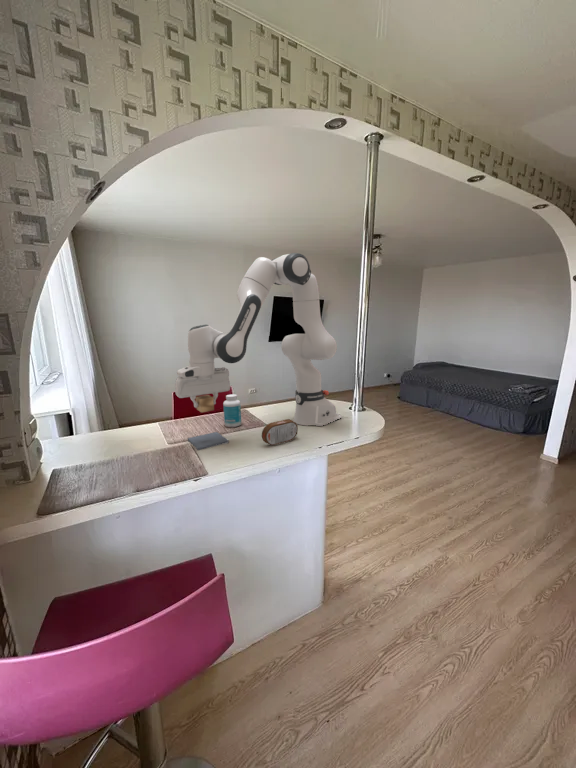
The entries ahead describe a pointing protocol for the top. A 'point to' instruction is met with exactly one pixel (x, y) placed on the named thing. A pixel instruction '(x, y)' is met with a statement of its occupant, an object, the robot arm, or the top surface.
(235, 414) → the pill bottle
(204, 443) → the mat
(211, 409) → the cube
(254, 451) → the top surface
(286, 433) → the tin
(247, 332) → the robot arm
